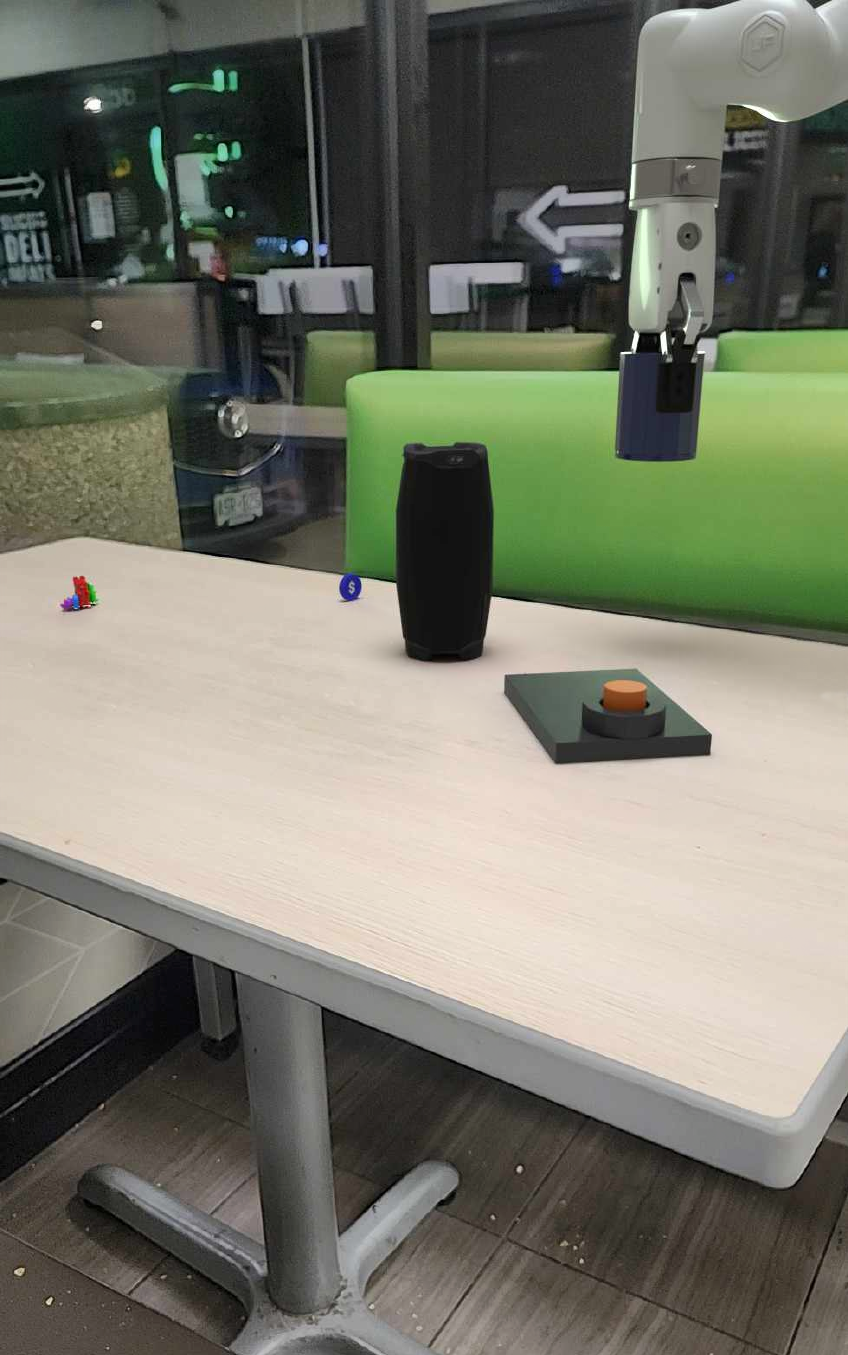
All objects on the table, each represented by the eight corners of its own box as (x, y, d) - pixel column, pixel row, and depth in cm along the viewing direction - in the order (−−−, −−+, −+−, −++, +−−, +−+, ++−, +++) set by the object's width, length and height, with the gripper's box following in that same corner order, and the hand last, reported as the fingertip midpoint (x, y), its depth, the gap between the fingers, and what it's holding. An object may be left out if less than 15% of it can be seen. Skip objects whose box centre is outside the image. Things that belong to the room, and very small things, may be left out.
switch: (637, 700, 89) (639, 679, 88) (651, 713, 86) (653, 691, 85) (597, 702, 88) (599, 681, 88) (609, 715, 85) (611, 693, 85)
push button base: (635, 686, 103) (637, 648, 101) (710, 756, 86) (715, 711, 85) (504, 693, 101) (504, 654, 100) (555, 764, 85) (557, 720, 83)
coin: (343, 602, 134) (343, 576, 133) (339, 601, 134) (338, 575, 133) (361, 598, 136) (361, 572, 135) (357, 597, 136) (357, 571, 135)
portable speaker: (380, 652, 114) (376, 445, 106) (451, 636, 119) (452, 438, 111) (437, 670, 108) (437, 452, 100) (509, 653, 113) (514, 445, 105)
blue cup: (680, 452, 110) (688, 351, 107) (707, 460, 103) (717, 353, 100) (605, 454, 109) (611, 352, 106) (628, 462, 103) (634, 353, 99)
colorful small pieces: (65, 613, 129) (61, 581, 128) (55, 608, 131) (51, 577, 130) (106, 606, 132) (102, 575, 131) (95, 602, 134) (92, 572, 133)
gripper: (756, 177, 90) (733, 415, 97) (683, 199, 106) (667, 402, 113) (664, 176, 89) (648, 417, 96) (603, 198, 105) (593, 404, 112)
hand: (658, 408), depth 105 cm, fingers closed on blue cup, 7 cm apart
